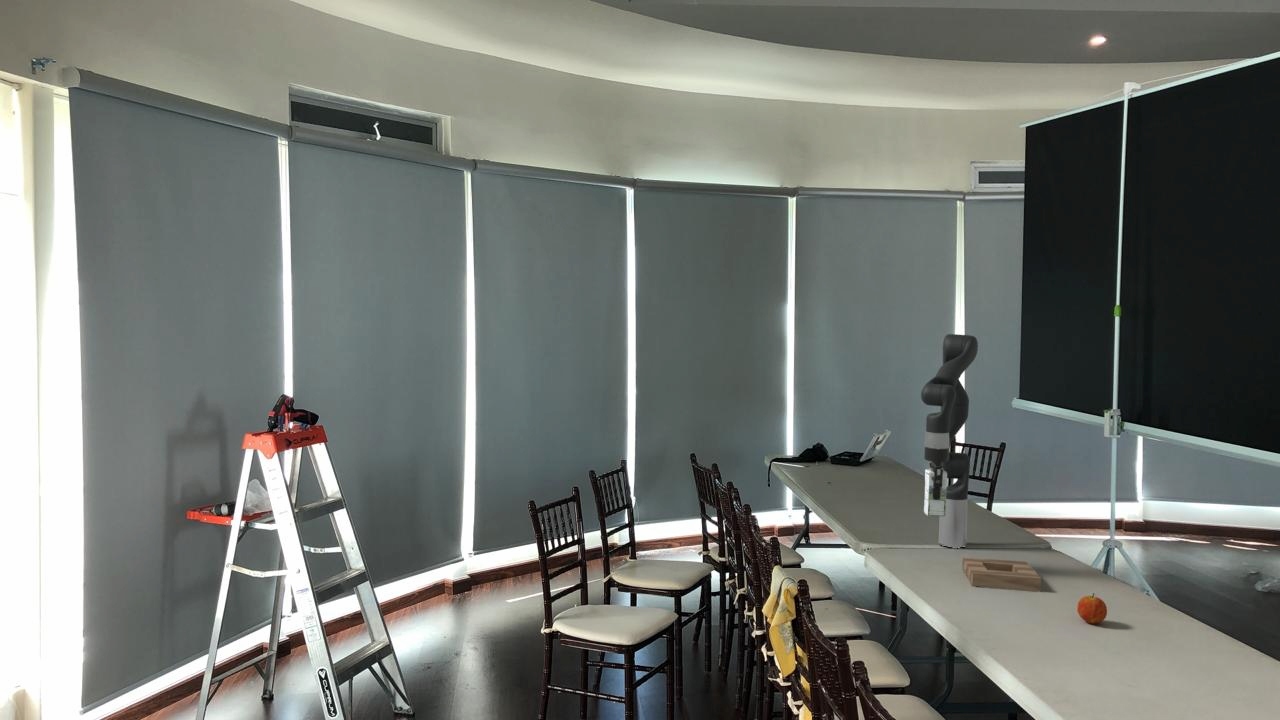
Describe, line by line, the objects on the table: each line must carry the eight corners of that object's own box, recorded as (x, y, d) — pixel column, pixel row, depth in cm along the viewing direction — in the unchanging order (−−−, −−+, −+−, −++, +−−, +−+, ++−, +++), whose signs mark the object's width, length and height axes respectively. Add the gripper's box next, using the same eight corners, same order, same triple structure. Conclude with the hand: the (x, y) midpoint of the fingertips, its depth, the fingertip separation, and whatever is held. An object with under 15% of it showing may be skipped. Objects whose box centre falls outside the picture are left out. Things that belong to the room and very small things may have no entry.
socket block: (962, 569, 280) (962, 557, 280) (1025, 574, 276) (1026, 561, 276) (972, 586, 262) (972, 573, 261) (1040, 591, 258) (1040, 578, 258)
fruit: (1070, 619, 232) (1071, 590, 232) (1090, 617, 235) (1091, 587, 235) (1092, 628, 226) (1093, 597, 226) (1112, 625, 228) (1113, 595, 228)
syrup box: (941, 513, 287) (942, 469, 286) (945, 517, 281) (947, 472, 280) (923, 512, 287) (924, 468, 286) (927, 516, 281) (929, 471, 281)
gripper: (922, 442, 291) (920, 492, 291) (927, 448, 277) (925, 501, 277) (946, 443, 289) (944, 493, 290) (952, 449, 275) (950, 502, 276)
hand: (935, 497), depth 284 cm, fingers closed on syrup box, 6 cm apart
